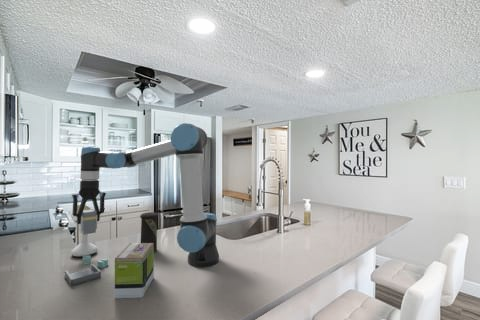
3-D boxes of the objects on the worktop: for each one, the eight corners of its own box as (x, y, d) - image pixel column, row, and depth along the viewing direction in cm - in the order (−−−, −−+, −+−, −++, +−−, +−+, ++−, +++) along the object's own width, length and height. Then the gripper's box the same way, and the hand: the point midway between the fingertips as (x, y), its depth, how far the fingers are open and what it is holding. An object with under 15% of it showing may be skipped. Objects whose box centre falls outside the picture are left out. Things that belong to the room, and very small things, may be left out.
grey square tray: (100, 277, 100) (100, 271, 100) (71, 286, 93) (71, 279, 93) (92, 268, 107) (92, 263, 107) (64, 276, 100) (64, 270, 100)
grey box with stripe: (95, 232, 114) (96, 211, 114) (83, 234, 110) (84, 212, 110) (92, 230, 118) (93, 209, 118) (80, 232, 114) (81, 210, 114)
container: (151, 254, 125) (152, 215, 125) (135, 252, 127) (136, 214, 127) (160, 248, 133) (161, 212, 133) (145, 246, 135) (146, 210, 135)
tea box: (129, 278, 100) (129, 242, 100) (154, 277, 101) (155, 242, 101) (113, 299, 85) (114, 257, 85) (142, 298, 86) (143, 256, 86)
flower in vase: (102, 252, 126) (103, 204, 126) (80, 260, 115) (81, 207, 115) (86, 248, 131) (87, 201, 131) (63, 255, 121) (64, 205, 121)
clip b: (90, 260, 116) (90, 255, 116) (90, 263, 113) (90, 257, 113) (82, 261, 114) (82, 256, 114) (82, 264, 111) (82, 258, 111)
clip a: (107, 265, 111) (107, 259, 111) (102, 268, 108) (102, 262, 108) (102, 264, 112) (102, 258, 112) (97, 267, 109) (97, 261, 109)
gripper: (108, 178, 123) (106, 224, 123) (64, 179, 110) (63, 231, 110) (113, 179, 118) (111, 227, 118) (68, 181, 105) (66, 235, 105)
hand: (88, 229), depth 114 cm, fingers closed on grey box with stripe, 5 cm apart
